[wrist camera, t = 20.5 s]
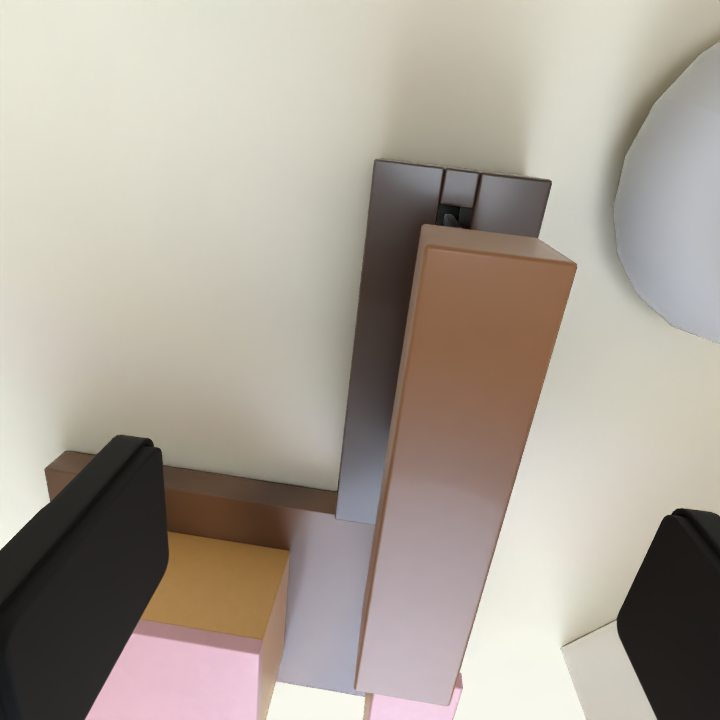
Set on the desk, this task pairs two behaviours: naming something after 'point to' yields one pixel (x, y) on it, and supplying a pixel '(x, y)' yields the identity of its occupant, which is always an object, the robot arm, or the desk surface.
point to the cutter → (454, 448)
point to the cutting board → (286, 532)
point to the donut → (676, 202)
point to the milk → (606, 677)
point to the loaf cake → (204, 637)
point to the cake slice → (409, 707)
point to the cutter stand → (409, 295)
